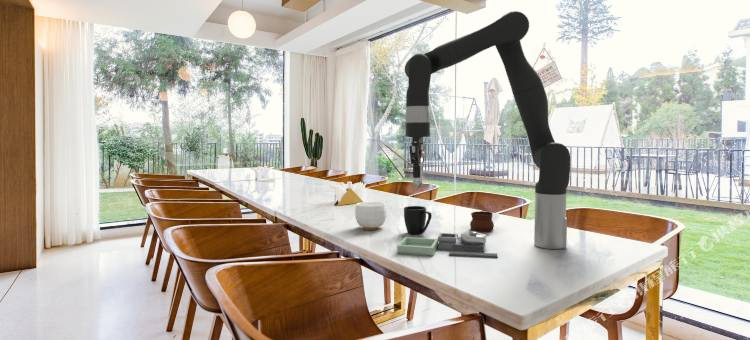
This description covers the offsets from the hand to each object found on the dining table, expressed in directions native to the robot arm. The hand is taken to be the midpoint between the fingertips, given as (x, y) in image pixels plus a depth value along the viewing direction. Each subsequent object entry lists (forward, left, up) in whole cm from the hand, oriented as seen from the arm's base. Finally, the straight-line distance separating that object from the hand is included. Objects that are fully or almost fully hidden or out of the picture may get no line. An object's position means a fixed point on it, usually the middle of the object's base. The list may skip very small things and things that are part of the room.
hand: (417, 177), depth 128 cm
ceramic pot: (-18, -33, -24) cm, 45 cm away
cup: (+24, -26, -24) cm, 42 cm away
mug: (+4, -21, -24) cm, 32 cm away
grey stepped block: (-13, -7, -23) cm, 28 cm away
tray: (0, 0, -23) cm, 23 cm away
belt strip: (-17, +2, -23) cm, 29 cm away
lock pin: (0, 0, -3) cm, 3 cm away
